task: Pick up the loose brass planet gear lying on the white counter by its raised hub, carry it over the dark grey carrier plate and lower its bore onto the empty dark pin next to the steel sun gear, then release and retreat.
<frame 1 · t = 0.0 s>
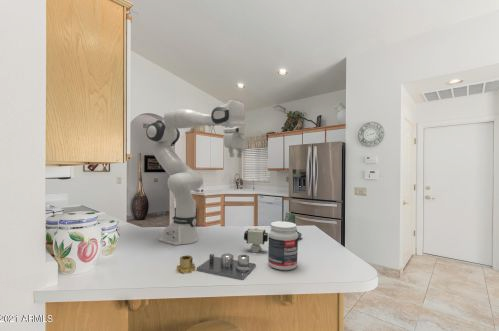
hand: (235, 157, 134), 48 cm above the counter, fingers open, 8 cm apart
supplement tub: (282, 265, 113), on the counter
pneumatic valve: (255, 251, 130), on the counter
planet gear: (186, 269, 106), on the counter
carrier: (226, 268, 108), on the counter
tree stump: (284, 238, 154), on the counter
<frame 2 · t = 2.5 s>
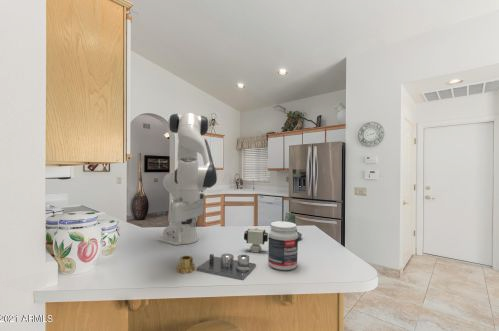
hand: (186, 229, 106), 17 cm above the counter, fingers open, 8 cm apart
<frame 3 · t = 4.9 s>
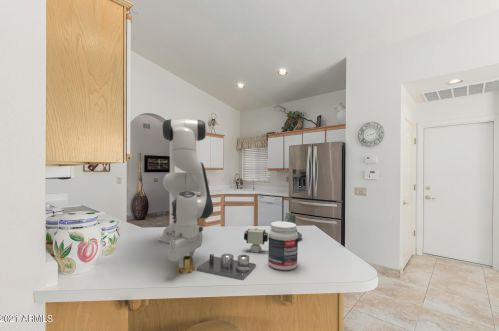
hand: (186, 263, 106), 2 cm above the counter, fingers closed on planet gear, 5 cm apart
planet gear: (186, 269, 106), on the counter, touching gripper
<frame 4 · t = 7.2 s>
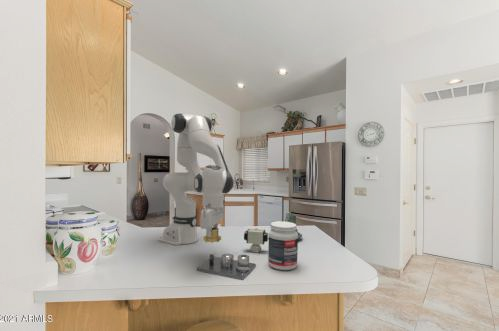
hand: (212, 234, 111), 14 cm above the counter, fingers closed on planet gear, 5 cm apart
planet gear: (212, 240, 111), point 11 cm above the counter, touching gripper
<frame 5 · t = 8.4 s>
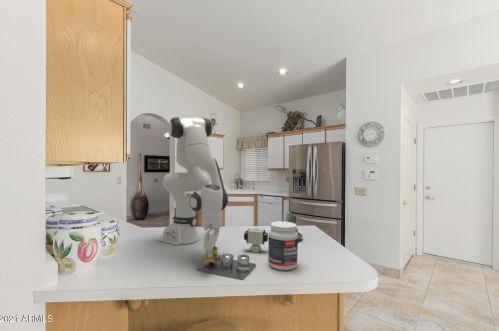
hand: (211, 254, 111), 5 cm above the counter, fingers closed on planet gear, 5 cm apart
planet gear: (211, 259, 111), point 3 cm above the counter, touching gripper
when the fingers open (5 cm above the counter, at t = 9.5 s): planet gear drops 1 cm, resting on carrier.
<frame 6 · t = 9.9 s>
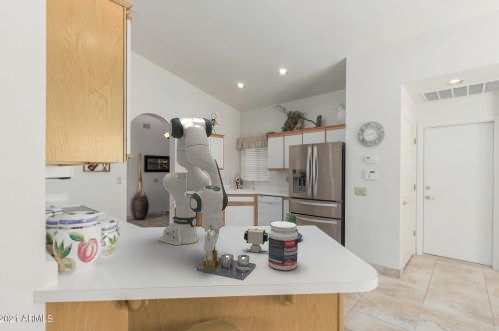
hand: (211, 254, 111), 5 cm above the counter, fingers open, 8 cm apart
planet gear: (211, 262, 111), point 1 cm above the counter, touching carrier
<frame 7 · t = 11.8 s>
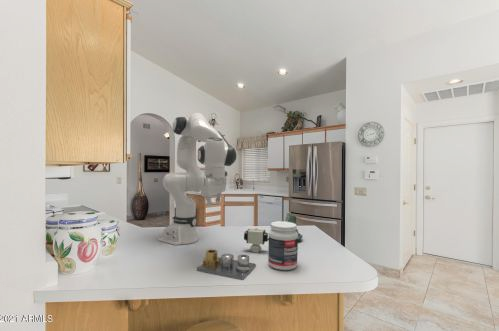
hand: (213, 204, 115), 26 cm above the counter, fingers open, 8 cm apart
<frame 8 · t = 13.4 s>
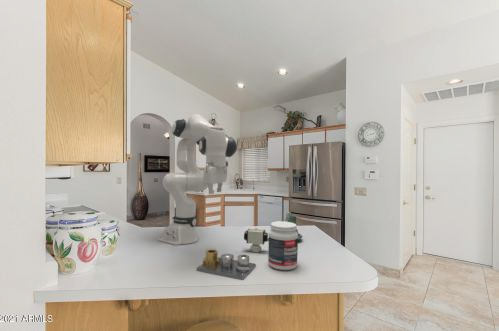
hand: (215, 193, 116), 31 cm above the counter, fingers open, 8 cm apart
at the end: planet gear 0.1 cm from the target spot on the carrier, point 1.2 cm above the carrier's base; the gripper is holding nothing; planet gear tilted 0° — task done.
